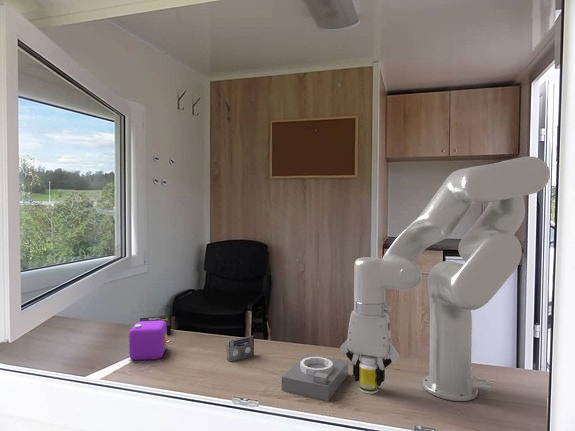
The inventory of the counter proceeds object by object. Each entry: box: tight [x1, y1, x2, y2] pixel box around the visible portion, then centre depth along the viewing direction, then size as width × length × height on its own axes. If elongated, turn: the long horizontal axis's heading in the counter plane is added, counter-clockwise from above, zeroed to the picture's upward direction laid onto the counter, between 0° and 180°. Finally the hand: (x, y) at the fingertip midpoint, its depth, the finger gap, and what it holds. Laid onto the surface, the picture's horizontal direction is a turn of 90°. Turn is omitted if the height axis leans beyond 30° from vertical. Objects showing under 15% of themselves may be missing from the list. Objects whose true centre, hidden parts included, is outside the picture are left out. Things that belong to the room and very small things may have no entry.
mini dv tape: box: [226, 335, 255, 362], centre depth 115 cm, size 8×2×6 cm, turn 123°
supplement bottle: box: [358, 354, 379, 394], centre depth 96 cm, size 5×5×8 cm
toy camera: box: [128, 321, 169, 361], centre depth 118 cm, size 11×14×10 cm
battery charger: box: [139, 315, 172, 337], centre depth 139 cm, size 13×10×4 cm
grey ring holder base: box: [281, 353, 349, 402], centre depth 99 cm, size 12×16×5 cm
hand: (368, 380), depth 96 cm, fingers closed on supplement bottle, 4 cm apart
